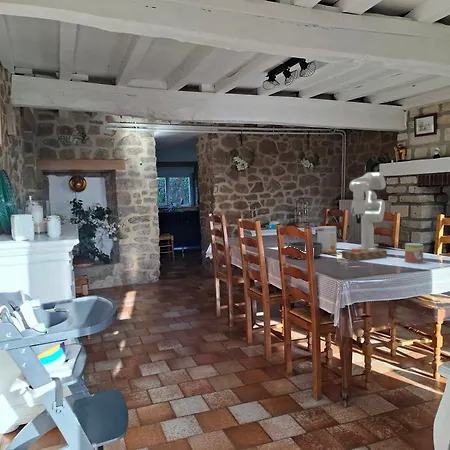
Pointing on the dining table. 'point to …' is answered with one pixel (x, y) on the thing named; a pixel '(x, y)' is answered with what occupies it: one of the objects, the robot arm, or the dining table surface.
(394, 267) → the dining table surface
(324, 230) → the cracker box
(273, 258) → the dining table surface
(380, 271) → the dining table surface
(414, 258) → the canned food
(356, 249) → the salmon pink cube
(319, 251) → the bundt pan
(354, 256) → the block
